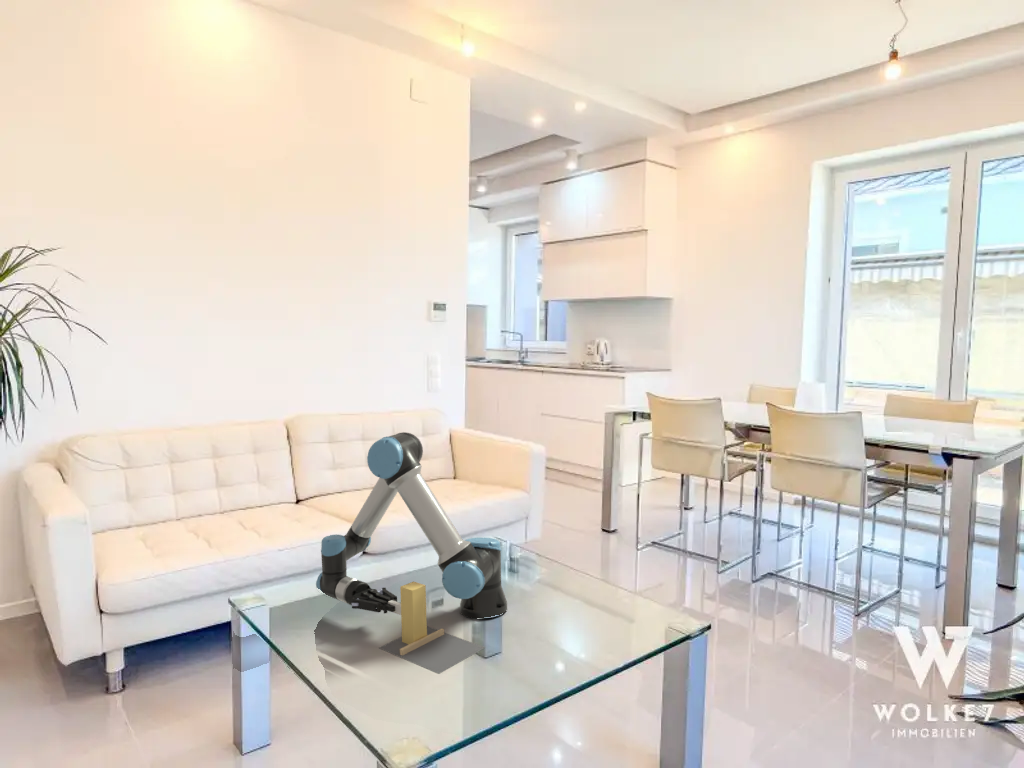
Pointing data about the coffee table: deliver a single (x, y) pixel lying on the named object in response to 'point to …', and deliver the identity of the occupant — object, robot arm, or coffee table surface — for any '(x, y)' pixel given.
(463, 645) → the tipping mat
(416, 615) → the mustard block
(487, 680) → the coffee table surface
